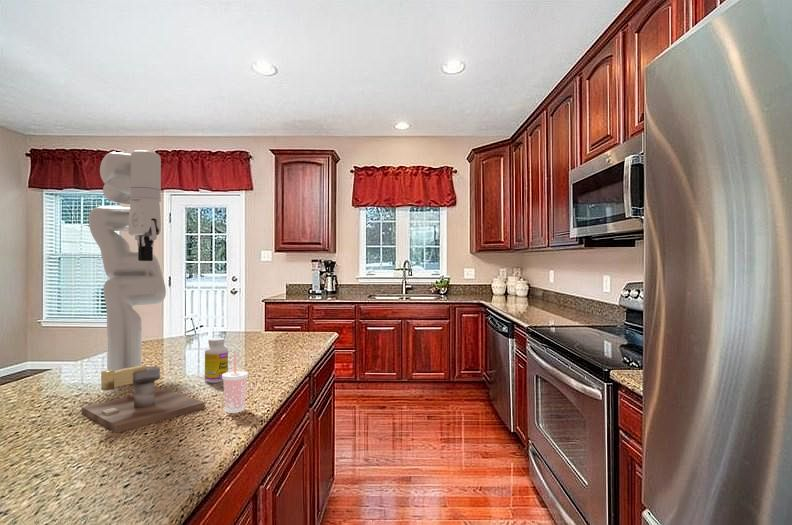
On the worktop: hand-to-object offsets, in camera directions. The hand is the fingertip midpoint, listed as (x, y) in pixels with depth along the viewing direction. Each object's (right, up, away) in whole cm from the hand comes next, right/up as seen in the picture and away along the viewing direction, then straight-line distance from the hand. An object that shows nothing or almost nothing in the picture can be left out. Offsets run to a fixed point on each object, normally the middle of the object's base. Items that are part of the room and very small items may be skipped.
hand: (145, 260), depth 126 cm
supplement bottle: (+15, -37, +11) cm, 42 cm away
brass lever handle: (+7, -30, -19) cm, 36 cm away
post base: (+9, -37, -16) cm, 41 cm away
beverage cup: (+31, -37, -15) cm, 51 cm away
